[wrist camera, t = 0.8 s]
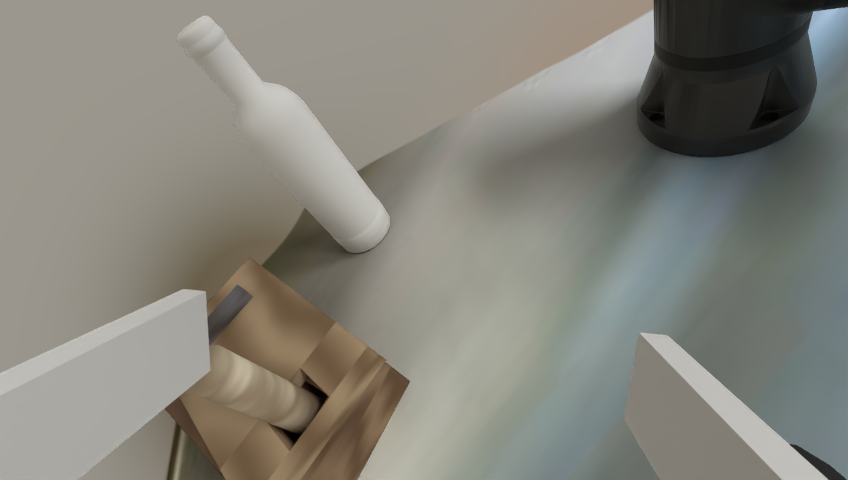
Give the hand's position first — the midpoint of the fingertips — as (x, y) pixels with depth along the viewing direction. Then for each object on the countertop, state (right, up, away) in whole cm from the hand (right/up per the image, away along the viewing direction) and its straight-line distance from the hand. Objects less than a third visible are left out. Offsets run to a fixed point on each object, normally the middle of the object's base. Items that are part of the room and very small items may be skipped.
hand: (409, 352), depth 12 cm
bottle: (-8, +5, +44) cm, 45 cm away
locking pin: (-8, -13, +24) cm, 28 cm away
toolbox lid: (-15, -8, +26) cm, 31 cm away
